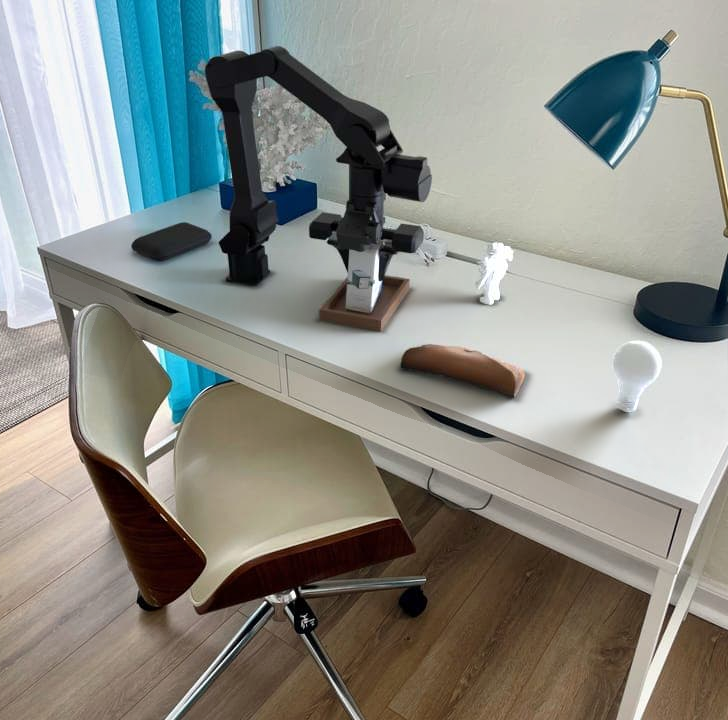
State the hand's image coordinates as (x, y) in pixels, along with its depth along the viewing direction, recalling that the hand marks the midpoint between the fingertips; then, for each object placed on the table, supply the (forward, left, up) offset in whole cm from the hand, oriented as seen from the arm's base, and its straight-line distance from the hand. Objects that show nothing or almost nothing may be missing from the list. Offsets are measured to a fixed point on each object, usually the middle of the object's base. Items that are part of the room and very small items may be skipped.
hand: (365, 278), depth 128 cm
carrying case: (-45, +9, -5) cm, 47 cm away
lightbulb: (+46, -18, -5) cm, 49 cm away
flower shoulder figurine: (+21, +9, -5) cm, 23 cm away
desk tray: (0, 0, -5) cm, 5 cm away
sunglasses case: (+22, -16, -5) cm, 27 cm away
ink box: (0, 0, -5) cm, 5 cm away
